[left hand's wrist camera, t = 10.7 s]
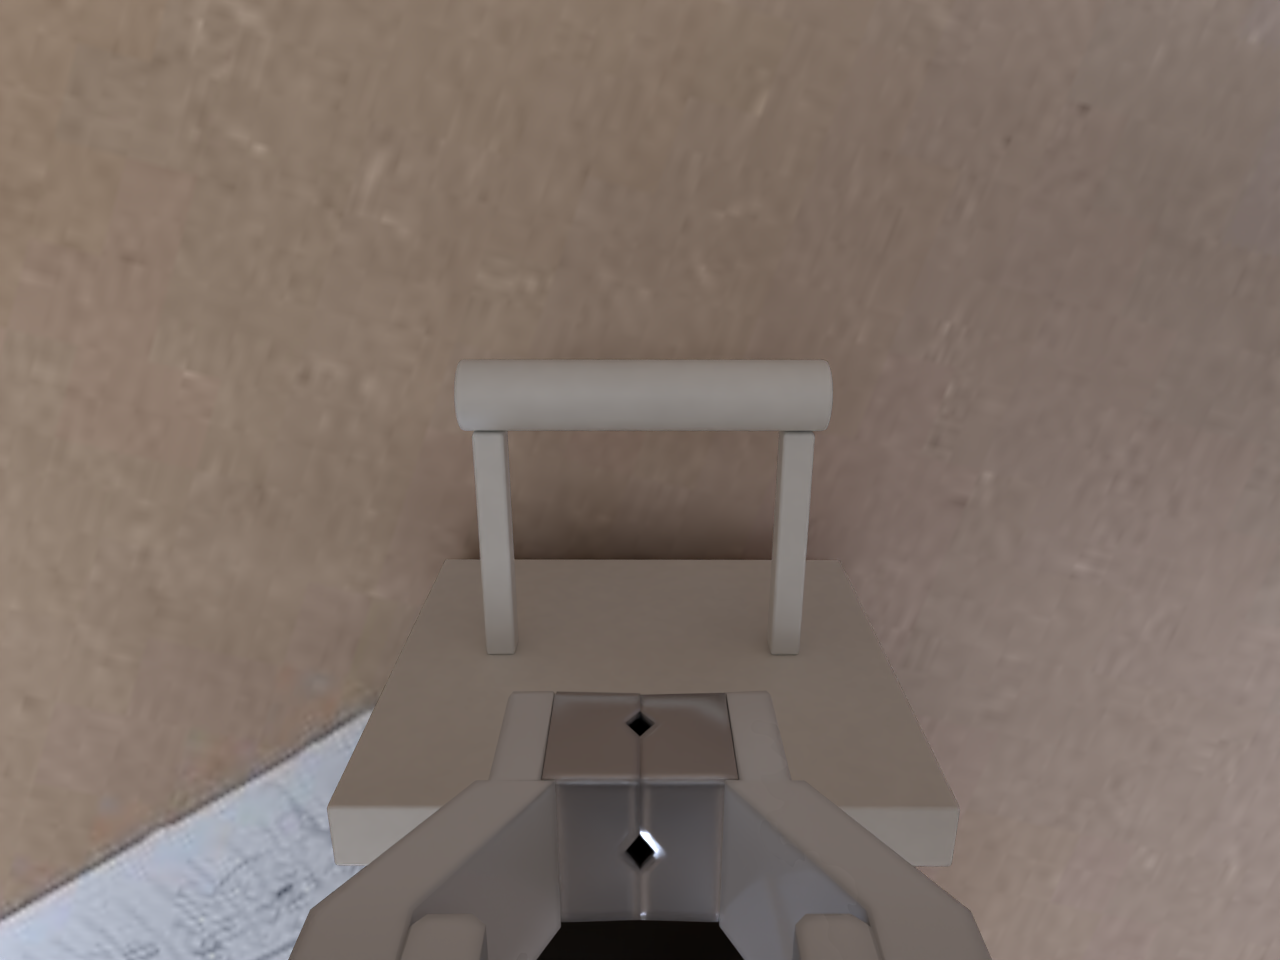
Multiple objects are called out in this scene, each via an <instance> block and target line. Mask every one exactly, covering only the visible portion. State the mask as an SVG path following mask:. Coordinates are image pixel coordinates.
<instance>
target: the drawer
mask: <svg viewBox="0 0 1280 960" xmlns="http://www.w3.org/2000/svg"><path fill="white" fill-rule="evenodd" d="M454 402H455V412H456V418H457V421H458V424H459V427H460V428H461V429H462V430H465V431H474V433H473V435H472V445H473V460H474V475H475V490H476V505H477V519H478V534H479V549H480V560H479V559H448V560H445V562H444V564H443V566H442V568H441V570H440V572H439V574H438V576H437V578H436V580H435V583H434V585H433V587H432V589H431V591H430V593H429V595H428V597H427V599H426V601H425V603H424V606H423V608H422V610H421V612H420V614H419V616H418V618H417V620H416V622H415V624H414V626H413V629H412V631H411V633H410V635H409V637H408V639H407V641H406V643H405V645H404V647H403V649H402V652H401V654H400V656H399V658H398V660H397V662H396V664H395V666H394V668H393V670H392V672H391V675H390V677H389V679H388V681H387V683H386V685H385V687H384V689H383V691H382V693H381V695H380V698H379V700H378V702H377V704H376V706H375V708H374V710H373V712H372V714H371V716H370V718H369V721H368V723H367V725H366V727H365V729H364V731H363V733H362V735H361V737H360V739H359V741H358V744H357V746H356V748H355V750H354V752H353V754H352V756H351V758H350V760H349V762H348V764H347V767H346V769H345V771H344V773H343V775H342V777H341V779H340V781H339V783H338V785H337V787H336V790H335V792H334V794H333V796H332V798H331V800H330V802H329V804H328V807H327V812H328V819H329V826H330V832H331V839H332V846H333V852H334V859H335V863H336V865H339V866H367V865H368V864H369V863H371V862H372V861H373V860H375V859H376V858H377V857H378V856H380V855H381V854H382V853H384V852H385V851H386V850H387V849H389V848H390V847H391V846H392V845H394V844H395V843H396V842H398V841H399V840H400V839H401V838H403V837H404V836H405V835H407V834H408V833H409V832H410V831H412V830H413V829H414V828H415V827H417V826H418V825H419V824H421V823H422V822H423V821H424V820H426V819H427V818H428V817H430V816H431V815H432V814H433V813H435V812H436V811H437V810H439V809H440V808H441V807H442V806H444V805H445V804H446V803H447V802H449V801H450V800H451V799H453V798H454V797H455V796H456V795H458V794H459V793H460V792H462V791H463V790H464V789H465V788H467V787H468V786H469V785H470V784H472V783H473V782H474V781H476V780H488V779H489V775H490V771H491V767H492V763H493V759H494V755H495V751H496V746H497V742H498V738H499V734H500V730H501V726H502V722H503V718H504V714H505V709H506V705H507V701H508V697H509V696H510V695H511V694H512V692H513V691H553V692H554V693H555V694H556V692H557V691H558V692H607V693H640V694H686V693H725V692H742V691H767V692H768V693H769V694H770V695H771V698H772V702H773V706H774V710H775V714H776V718H777V722H778V727H779V731H780V735H781V739H782V743H783V747H784V751H785V755H786V759H787V763H788V767H789V771H790V775H791V779H792V780H804V781H806V782H807V783H808V784H810V785H811V786H812V787H813V788H815V789H816V790H817V791H819V792H820V793H821V794H822V795H824V796H825V797H826V798H827V799H829V800H830V801H831V802H833V803H834V804H835V805H836V806H838V807H839V808H840V809H841V810H843V811H844V812H845V813H846V814H848V815H849V816H850V817H852V818H853V819H854V820H855V821H857V822H858V823H859V824H860V825H862V826H863V827H864V828H866V829H867V830H868V831H869V832H871V833H872V834H873V835H874V836H876V837H877V838H878V839H880V840H881V841H882V842H883V843H885V844H886V845H887V846H888V847H890V848H891V849H892V850H894V851H895V852H896V853H897V854H899V855H900V856H901V857H902V858H904V859H905V860H906V861H908V862H909V863H910V864H911V865H913V866H950V865H951V864H952V858H953V851H954V845H955V838H956V832H957V825H958V819H959V813H960V808H959V805H958V803H957V801H956V799H955V797H954V795H953V793H952V791H951V789H950V787H949V785H948V783H947V781H946V778H945V776H944V774H943V772H942V770H941V768H940V766H939V764H938V762H937V760H936V758H935V756H934V754H933V752H932V750H931V748H930V746H929V743H928V741H927V739H926V737H925V735H924V733H923V731H922V729H921V727H920V725H919V723H918V721H917V719H916V717H915V715H914V713H913V710H912V708H911V706H910V704H909V702H908V700H907V698H906V696H905V694H904V692H903V690H902V688H901V686H900V684H899V682H898V680H897V678H896V675H895V673H894V671H893V669H892V667H891V665H890V663H889V661H888V659H887V657H886V655H885V653H884V651H883V649H882V647H881V645H880V643H879V640H878V638H877V636H876V634H875V632H874V630H873V628H872V626H871V624H870V622H869V620H868V618H867V616H866V614H865V612H864V610H863V607H862V605H861V603H860V601H859V599H858V597H857V595H856V593H855V591H854V589H853V587H852V585H851V583H850V581H849V579H848V577H847V575H846V572H845V570H844V568H843V566H842V564H841V562H840V561H839V560H806V552H807V538H808V524H809V511H810V497H811V483H812V469H813V456H814V442H815V436H814V434H813V432H812V431H823V430H825V429H826V428H827V427H828V424H829V421H830V418H831V412H832V404H833V381H832V373H831V369H830V366H829V363H828V362H827V361H825V360H600V359H463V360H461V361H459V363H458V366H457V369H456V373H455V382H454ZM508 431H779V441H778V459H777V476H776V493H775V511H774V528H773V545H772V560H514V544H513V525H512V506H511V487H510V468H509V450H508ZM537 960H744V959H743V957H742V956H741V955H740V953H739V952H738V951H737V949H736V948H735V947H734V945H733V944H732V943H731V941H730V940H729V939H728V937H727V936H726V934H725V933H724V932H723V930H722V929H721V928H720V926H719V922H695V921H659V920H619V921H585V922H561V927H560V929H559V930H558V931H557V933H556V934H555V935H554V937H553V938H552V939H551V941H550V942H549V943H548V945H547V946H546V947H545V949H544V950H543V952H542V953H541V954H540V956H539V957H538V958H537Z"/></svg>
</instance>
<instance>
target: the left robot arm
mask: <svg viewBox="0 0 1280 960" xmlns="http://www.w3.org/2000/svg"><path fill="white" fill-rule="evenodd" d="M619 920H659V921H695V922H719V926H720V928H721V929H722V930H723V932H724V933H725V934H726V936H727V937H728V939H729V940H730V941H731V943H732V944H733V945H734V947H735V948H736V949H737V951H738V952H739V953H740V955H741V956H742V957H743V959H744V960H992V959H991V957H990V954H989V952H988V950H987V947H986V945H985V943H984V940H983V938H982V936H981V934H980V931H979V929H978V927H977V924H976V922H975V920H974V917H973V915H972V913H971V911H970V910H969V909H967V908H966V907H965V906H964V905H962V904H961V903H960V902H958V901H957V900H956V899H955V898H953V897H952V896H951V895H950V894H948V893H947V892H946V891H944V890H943V889H942V888H941V887H939V886H938V885H937V884H936V883H934V882H933V881H932V880H930V879H929V878H928V877H927V876H925V875H924V874H923V873H922V872H920V871H919V870H918V869H916V868H915V867H914V866H913V865H911V864H910V863H909V862H908V861H906V860H905V859H904V858H902V857H901V856H900V855H899V854H897V853H896V852H895V851H894V850H892V849H891V848H890V847H888V846H887V845H886V844H885V843H883V842H882V841H881V840H880V839H878V838H877V837H876V836H874V835H873V834H872V833H871V832H869V831H868V830H867V829H866V828H864V827H863V826H862V825H860V824H859V823H858V822H857V821H855V820H854V819H853V818H852V817H850V816H849V815H848V814H846V813H845V812H844V811H843V810H841V809H840V808H839V807H838V806H836V805H835V804H834V803H833V802H831V801H830V800H829V799H827V798H826V797H825V796H824V795H822V794H821V793H820V792H819V791H817V790H816V789H815V788H813V787H812V786H811V785H810V784H808V783H807V782H806V781H804V780H792V779H791V775H790V771H789V767H788V763H787V759H786V755H785V751H784V747H783V743H782V739H781V735H780V731H779V727H778V722H777V718H776V714H775V710H774V706H773V702H772V698H771V695H770V694H769V693H768V692H767V691H742V692H725V693H686V694H640V693H607V692H558V691H557V692H556V694H555V693H554V692H553V691H513V692H512V694H511V695H510V696H509V697H508V701H507V705H506V709H505V714H504V718H503V722H502V726H501V730H500V734H499V738H498V742H497V746H496V751H495V755H494V759H493V763H492V767H491V771H490V775H489V779H488V780H476V781H474V782H473V783H472V784H470V785H469V786H468V787H467V788H465V789H464V790H463V791H462V792H460V793H459V794H458V795H456V796H455V797H454V798H453V799H451V800H450V801H449V802H447V803H446V804H445V805H444V806H442V807H441V808H440V809H439V810H437V811H436V812H435V813H433V814H432V815H431V816H430V817H428V818H427V819H426V820H424V821H423V822H422V823H421V824H419V825H418V826H417V827H415V828H414V829H413V830H412V831H410V832H409V833H408V834H407V835H405V836H404V837H403V838H401V839H400V840H399V841H398V842H396V843H395V844H394V845H392V846H391V847H390V848H389V849H387V850H386V851H385V852H384V853H382V854H381V855H380V856H378V857H377V858H376V859H375V860H373V861H372V862H371V863H369V864H368V865H367V866H366V867H364V868H363V869H362V870H361V871H359V872H358V873H357V874H355V875H354V876H353V877H352V878H350V879H349V880H348V881H346V882H345V883H344V884H343V885H341V886H340V887H339V888H338V889H336V890H335V891H334V892H332V893H331V894H330V895H329V896H327V897H326V898H325V899H323V900H322V901H321V902H320V903H318V904H317V905H316V906H315V907H313V908H312V909H311V910H310V912H309V914H308V916H307V919H306V921H305V923H304V925H303V928H302V930H301V932H300V934H299V937H298V939H297V941H296V943H295V946H294V948H293V950H292V953H291V955H290V957H289V959H288V960H537V958H538V957H539V956H540V954H541V953H542V952H543V950H544V949H545V947H546V946H547V945H548V943H549V942H550V941H551V939H552V938H553V937H554V935H555V934H556V933H557V931H558V930H559V929H560V927H561V922H585V921H619Z"/></svg>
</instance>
